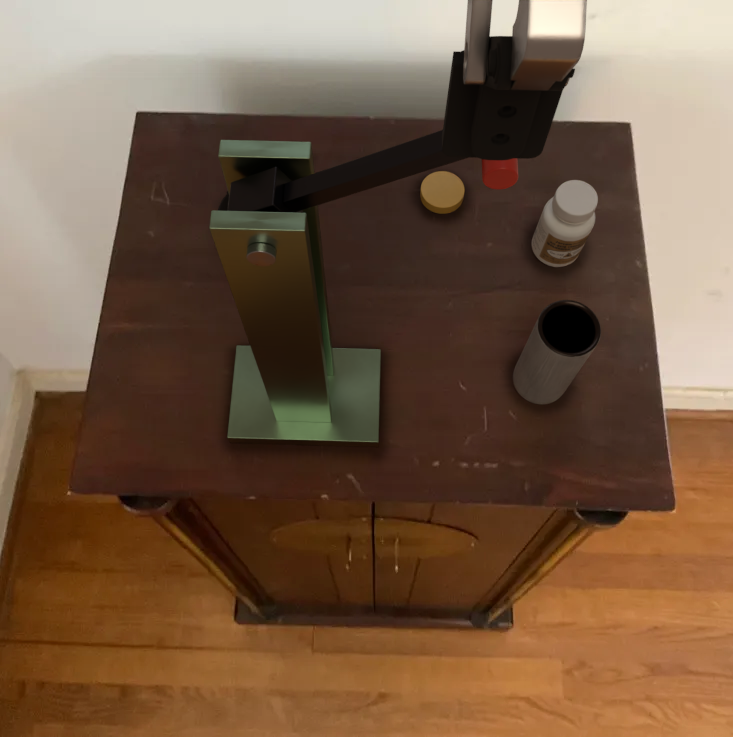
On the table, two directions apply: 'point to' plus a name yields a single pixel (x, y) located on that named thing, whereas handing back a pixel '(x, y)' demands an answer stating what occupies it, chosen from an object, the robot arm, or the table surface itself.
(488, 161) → the lever
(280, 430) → the hand press
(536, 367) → the planter
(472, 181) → the table surface
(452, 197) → the brass blank
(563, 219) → the pill bottle
